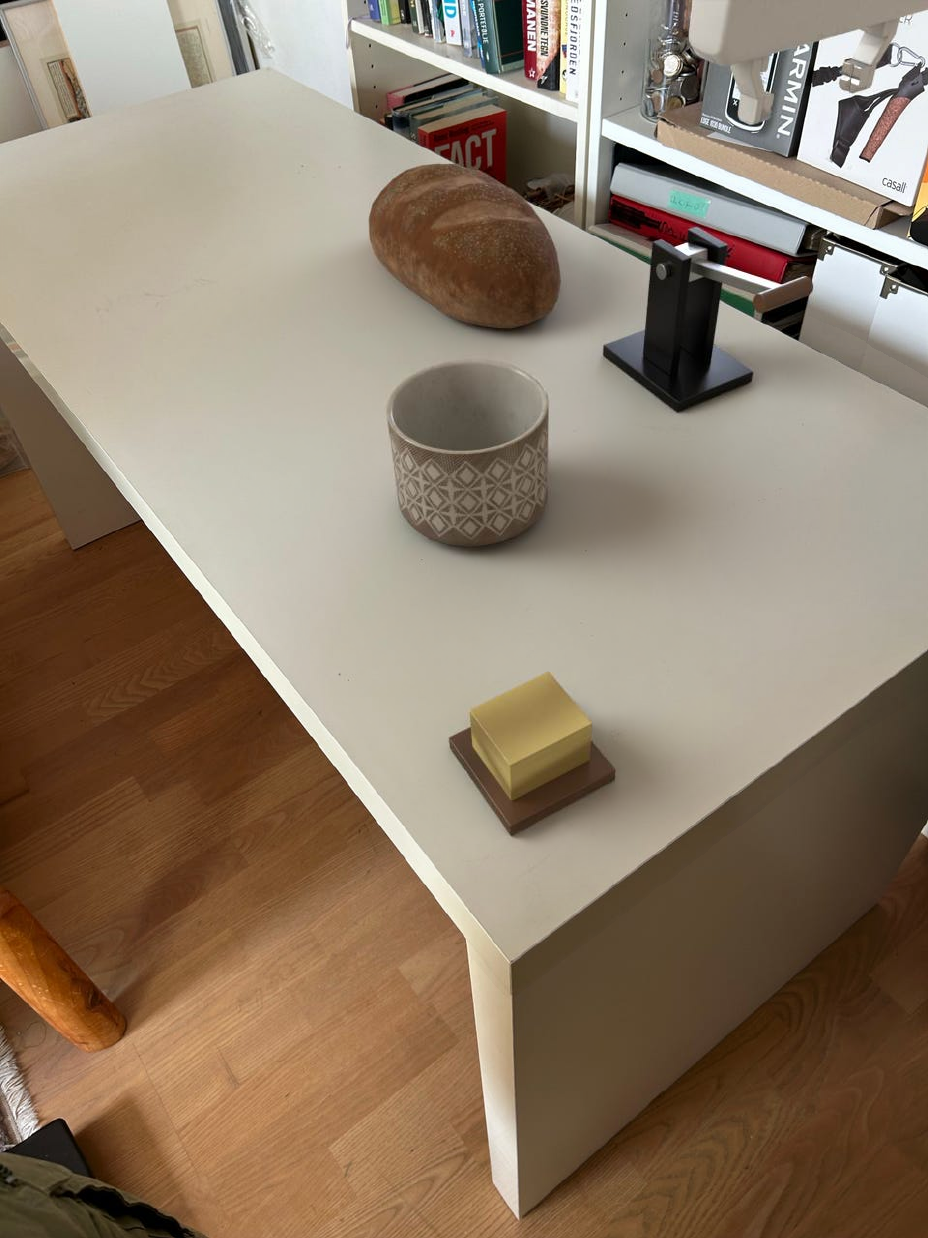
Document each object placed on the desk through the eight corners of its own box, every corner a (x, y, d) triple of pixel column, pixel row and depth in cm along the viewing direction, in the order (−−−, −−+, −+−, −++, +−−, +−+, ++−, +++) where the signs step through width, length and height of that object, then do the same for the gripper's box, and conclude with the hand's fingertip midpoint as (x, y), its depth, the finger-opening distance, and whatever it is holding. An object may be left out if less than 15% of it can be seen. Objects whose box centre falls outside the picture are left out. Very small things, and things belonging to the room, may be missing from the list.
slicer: (752, 382, 93) (775, 254, 83) (677, 413, 90) (692, 284, 81) (674, 328, 100) (687, 205, 91) (602, 355, 97) (608, 232, 88)
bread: (472, 356, 99) (466, 249, 90) (342, 250, 116) (327, 153, 108) (594, 307, 104) (599, 202, 95) (452, 213, 121) (446, 117, 113)
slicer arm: (812, 302, 79) (814, 273, 78) (765, 320, 78) (766, 291, 76) (699, 264, 89) (699, 237, 88) (656, 279, 88) (655, 253, 87)
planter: (440, 447, 88) (431, 346, 81) (569, 479, 84) (572, 376, 77) (373, 533, 81) (356, 431, 73) (512, 572, 77) (508, 469, 69)
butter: (615, 780, 63) (620, 732, 59) (510, 836, 61) (508, 791, 57) (548, 698, 68) (549, 650, 64) (449, 747, 66) (443, 700, 62)
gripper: (752, -102, 54) (718, 155, 64) (1009, -158, 60) (941, 84, 70) (681, -118, 58) (659, 126, 68) (928, -170, 64) (875, 61, 74)
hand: (804, 104), depth 69 cm, fingers open, 8 cm apart
